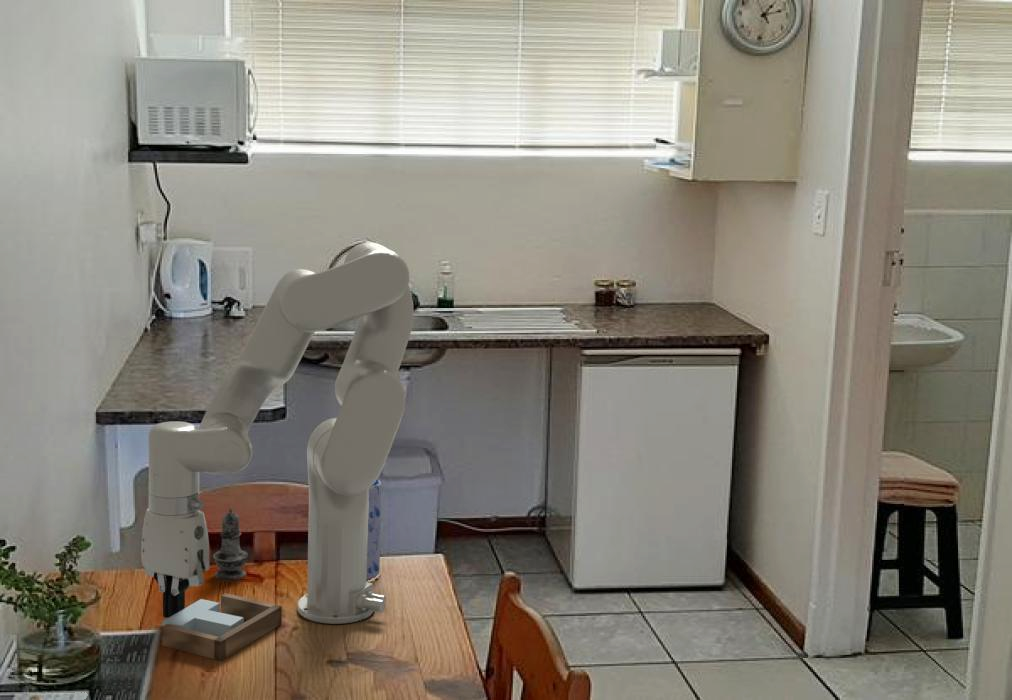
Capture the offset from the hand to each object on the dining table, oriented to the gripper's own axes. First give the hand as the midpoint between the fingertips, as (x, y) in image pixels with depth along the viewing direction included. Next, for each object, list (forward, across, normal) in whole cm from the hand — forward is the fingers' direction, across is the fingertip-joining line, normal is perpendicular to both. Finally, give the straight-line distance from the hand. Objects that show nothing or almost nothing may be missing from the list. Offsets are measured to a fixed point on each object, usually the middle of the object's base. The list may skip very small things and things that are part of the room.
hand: (173, 615), depth 192 cm
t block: (+1, -7, 0) cm, 7 cm away
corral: (+1, -9, 0) cm, 9 cm away
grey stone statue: (+1, +5, -21) cm, 22 cm away
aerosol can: (+1, -14, -32) cm, 35 cm away
